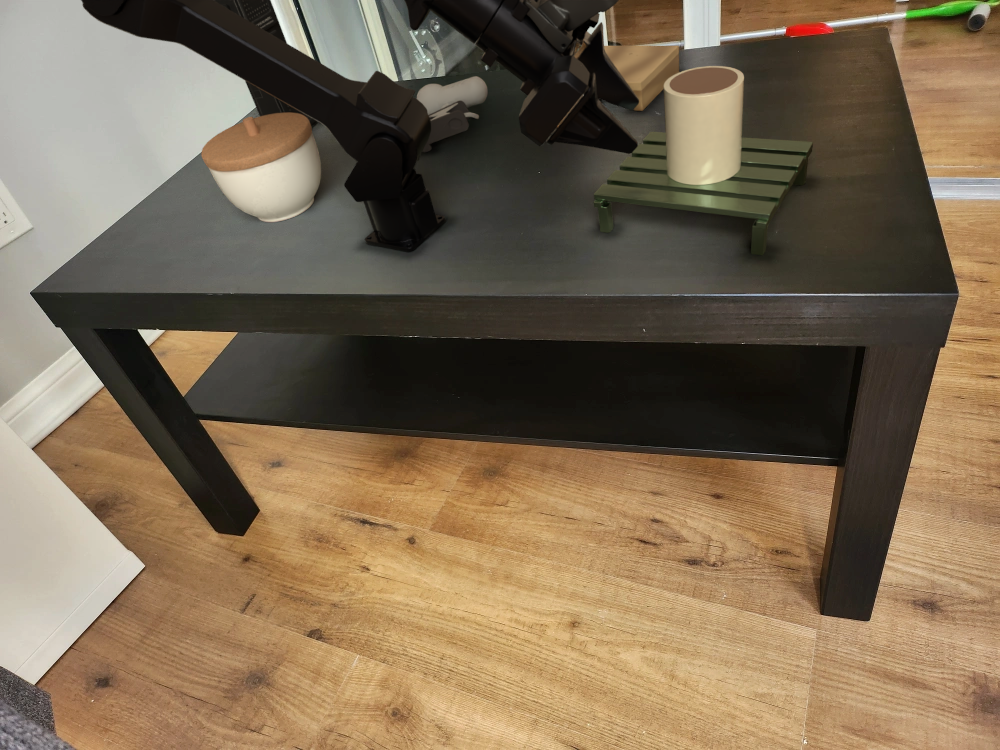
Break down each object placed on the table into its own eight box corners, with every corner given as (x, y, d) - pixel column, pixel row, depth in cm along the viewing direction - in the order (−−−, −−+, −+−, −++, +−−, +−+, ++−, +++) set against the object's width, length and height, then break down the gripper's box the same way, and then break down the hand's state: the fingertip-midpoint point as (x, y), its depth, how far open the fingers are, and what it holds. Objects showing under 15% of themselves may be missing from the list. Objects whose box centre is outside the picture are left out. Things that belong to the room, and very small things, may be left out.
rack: (595, 233, 68) (591, 196, 65) (653, 165, 76) (652, 129, 73) (765, 258, 60) (767, 216, 57) (810, 179, 68) (814, 139, 65)
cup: (662, 158, 68) (658, 73, 63) (732, 146, 67) (734, 59, 62) (672, 190, 63) (669, 101, 58) (748, 178, 62) (752, 87, 57)
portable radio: (295, 144, 101) (216, -53, 85) (261, 145, 103) (178, -46, 87) (322, 120, 106) (253, -70, 90) (290, 122, 108) (217, -63, 92)
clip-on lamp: (361, 174, 96) (471, 143, 87) (335, 133, 92) (447, 96, 83) (396, 128, 103) (501, 95, 94) (372, 88, 99) (480, 49, 90)
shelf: (531, 105, 95) (527, 79, 93) (573, 70, 102) (570, 45, 99) (642, 111, 87) (640, 82, 85) (679, 72, 94) (678, 45, 91)
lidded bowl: (348, 206, 83) (314, 114, 76) (244, 247, 80) (199, 156, 73) (321, 171, 92) (289, 86, 85) (227, 207, 89) (186, 122, 82)
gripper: (538, -47, 47) (708, 96, 52) (563, -101, 61) (696, 17, 65) (452, 86, 54) (608, 201, 59) (491, 11, 68) (616, 110, 72)
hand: (635, 126), depth 64 cm, fingers open, 9 cm apart
